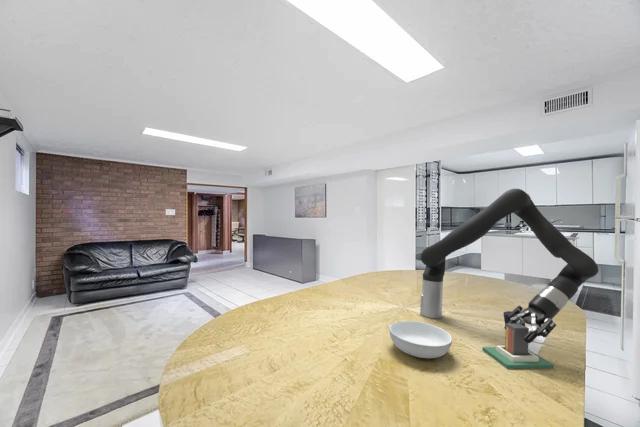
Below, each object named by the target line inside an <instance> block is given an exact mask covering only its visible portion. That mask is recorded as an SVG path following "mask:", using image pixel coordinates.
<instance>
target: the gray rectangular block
mask: <svg viewBox="0 0 640 427" xmlns="http://www.w3.org/2000/svg"><path fill="white" fill-rule="evenodd" d="M529 329H530V328H529V327H528V326H526V325H525V326H523V325H521V324H506V329H505V338H504V339H505V343H504V344H505V345H504V346H505V350H506V351H507V352H509V353H510V354H512V355H513V356H519V355H528V350H529V343H527V342H526V341H525V340H524V339H523V338H524V336H525V335H526V334H527V333H528V332H529V331H530V330H529Z"/></svg>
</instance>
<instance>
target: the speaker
mask: <svg viewBox="0 0 640 427" xmlns="http://www.w3.org/2000/svg"><path fill="white" fill-rule="evenodd" d="M511 312H512V311H504V312H503V320H504V326H505V325H506V324H507V323H508V322H509V321H510V318H509V317H508V315H509V314H510V313H511ZM514 316H515V314H514V315H513V317H514ZM521 318H522V317H521ZM522 319H523V318H522ZM516 321H518V319H517V320H516ZM521 325H523V326H525V327H526V323H525V324H522V323H521Z"/></svg>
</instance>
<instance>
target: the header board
mask: <svg viewBox="0 0 640 427" xmlns="http://www.w3.org/2000/svg"><path fill="white" fill-rule="evenodd" d="M482 352H484V353H485V354H486V355H488V356H489V357H491V358H492V359H493V360H494V361H495V362H497V363H499V364H500V365H501V366H502V367H504V368H505V369H507V370H511V369H513V370H515V369H516V370H517V369H521V370H524V369H525V370H526V369H527V370H528V369H529V370H531V369H538V370H540V369H542V370H543V369H545V370H546V369H547V370H548V369H549V370H550V369H551V370H552V369H555V364H554V363H552V362H550V361H549V360H547V359H545V358H544V357H541V355H538V354H537V353H535V352H533V351H531V350H530V349H528V355H519V356H513V355H512V354H510V353H509V352H507V351H506V350H505V345H495V346H483V347H482Z"/></svg>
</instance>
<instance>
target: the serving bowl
mask: <svg viewBox="0 0 640 427" xmlns="http://www.w3.org/2000/svg"><path fill="white" fill-rule="evenodd" d="M388 330H389V336H390V339H391V341H392V343H393V344H394V345H395V346H396V347H397V348H398V349H399V350H400V351H402V352H404V353H406V354H408V355H409V356H413V357H416V358H421V359H437V358H440V357H442V356H444V355H446V354H447V353H448V351H449V350H450V349H451V346H452V345H453V344H452V343H453V337H452V336H451V334H450V333H449V332H448V331H446V330H445V329H442V328H440V327H439V326H436V325H433V324H431V323H427V322H422V321H416V320H400V321H396V322H392V324H390V325H389V328H388Z"/></svg>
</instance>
